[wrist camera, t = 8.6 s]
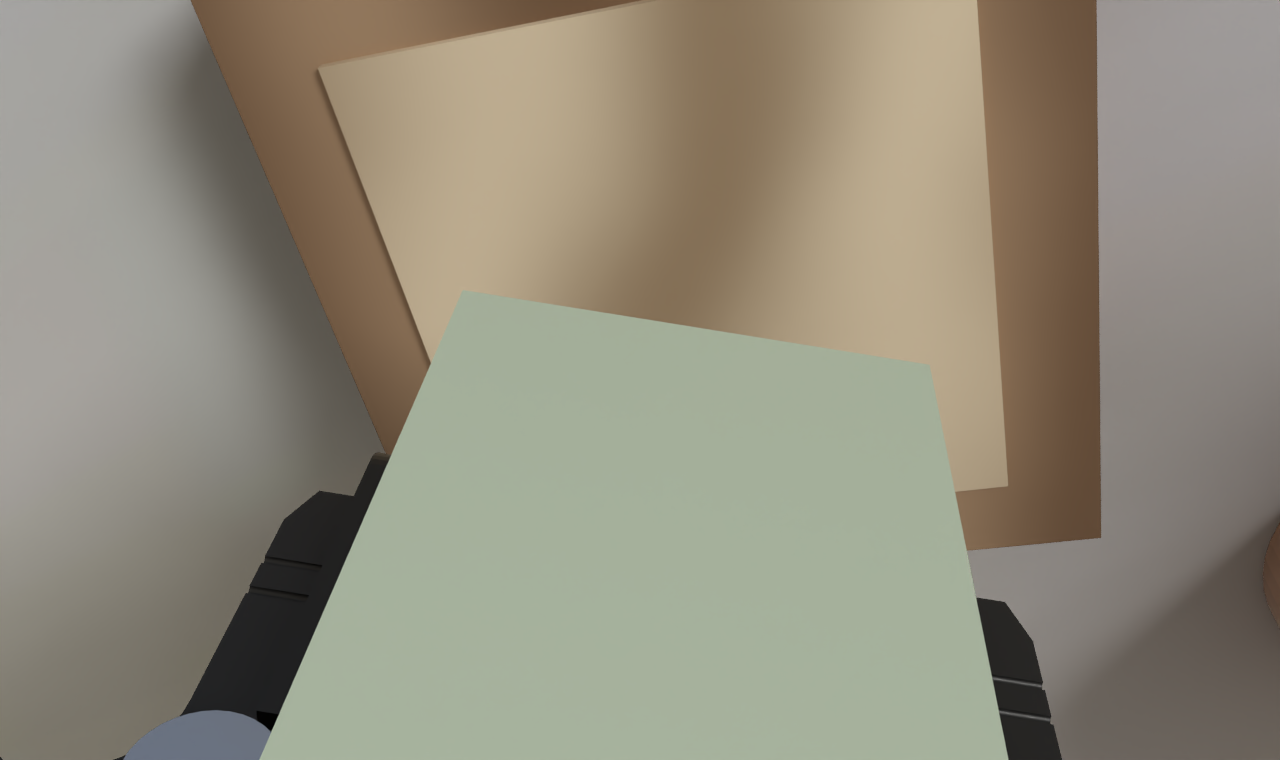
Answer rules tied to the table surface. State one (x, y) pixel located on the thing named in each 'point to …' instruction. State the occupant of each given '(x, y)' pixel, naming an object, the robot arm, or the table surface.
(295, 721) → the sage block
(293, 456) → the table surface
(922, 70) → the walnut base
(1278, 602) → the tan rounded block
